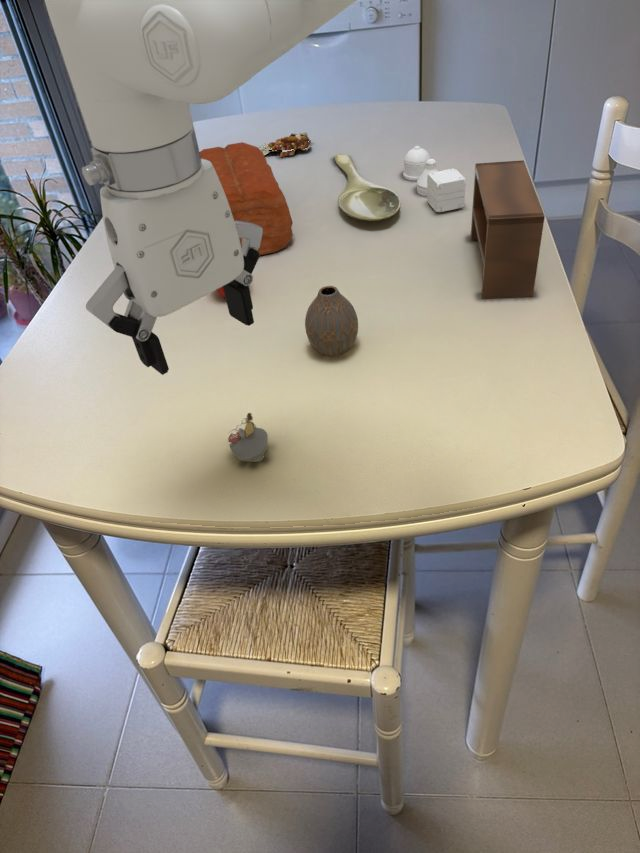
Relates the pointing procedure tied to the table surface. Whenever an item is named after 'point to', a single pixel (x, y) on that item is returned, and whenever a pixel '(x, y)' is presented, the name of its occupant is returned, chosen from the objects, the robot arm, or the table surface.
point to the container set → (434, 181)
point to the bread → (252, 192)
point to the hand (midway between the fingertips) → (201, 342)
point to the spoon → (365, 195)
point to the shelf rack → (506, 228)
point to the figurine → (249, 441)
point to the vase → (331, 322)
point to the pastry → (289, 144)
